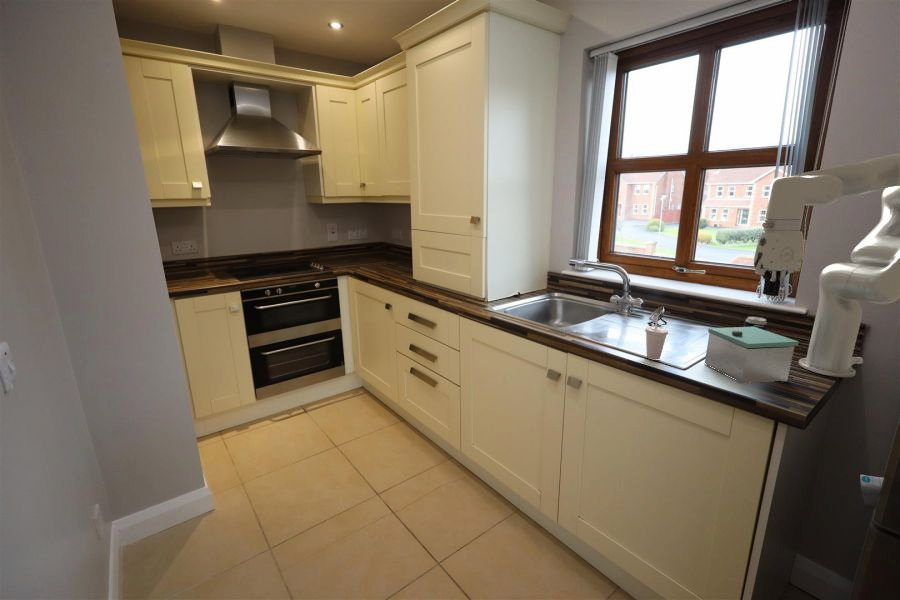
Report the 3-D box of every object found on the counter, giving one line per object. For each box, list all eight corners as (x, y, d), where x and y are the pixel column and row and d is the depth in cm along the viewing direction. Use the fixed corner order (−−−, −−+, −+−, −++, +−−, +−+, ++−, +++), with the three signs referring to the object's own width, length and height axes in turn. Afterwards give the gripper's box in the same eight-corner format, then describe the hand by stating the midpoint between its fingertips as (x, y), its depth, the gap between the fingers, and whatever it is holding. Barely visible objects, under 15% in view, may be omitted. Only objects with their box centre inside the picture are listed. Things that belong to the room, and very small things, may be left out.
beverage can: (737, 353, 134) (744, 318, 132) (741, 349, 138) (748, 315, 135) (759, 358, 130) (766, 322, 128) (762, 354, 134) (769, 318, 132)
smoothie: (657, 354, 133) (663, 313, 130) (668, 362, 127) (674, 318, 124) (638, 354, 133) (643, 313, 130) (648, 362, 127) (653, 319, 124)
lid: (753, 330, 125) (754, 323, 125) (797, 345, 111) (799, 338, 111) (708, 332, 124) (709, 325, 123) (747, 348, 110) (749, 340, 109)
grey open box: (745, 361, 128) (751, 331, 125) (787, 381, 114) (794, 347, 112) (704, 363, 126) (709, 332, 124) (741, 383, 113) (747, 349, 110)
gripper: (768, 228, 103) (757, 299, 107) (822, 226, 104) (808, 296, 109) (744, 226, 110) (734, 293, 114) (794, 224, 112) (782, 290, 116)
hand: (770, 294), depth 112 cm, fingers closed
